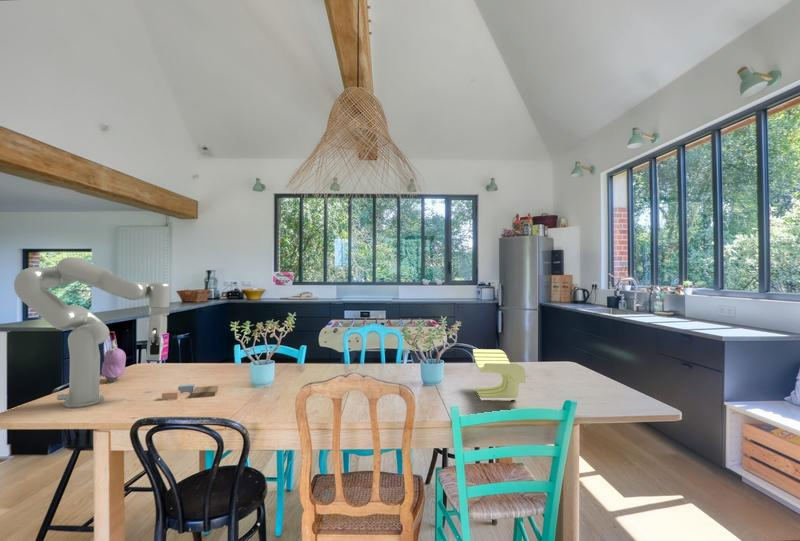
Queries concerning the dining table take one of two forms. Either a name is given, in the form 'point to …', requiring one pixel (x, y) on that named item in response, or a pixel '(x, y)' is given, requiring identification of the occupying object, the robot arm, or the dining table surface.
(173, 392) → the terracotta brick
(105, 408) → the dining table surface
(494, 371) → the slatted curved stool
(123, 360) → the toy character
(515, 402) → the dining table surface
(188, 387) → the slate brick
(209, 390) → the tan flat square block
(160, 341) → the supplement box
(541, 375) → the dining table surface
